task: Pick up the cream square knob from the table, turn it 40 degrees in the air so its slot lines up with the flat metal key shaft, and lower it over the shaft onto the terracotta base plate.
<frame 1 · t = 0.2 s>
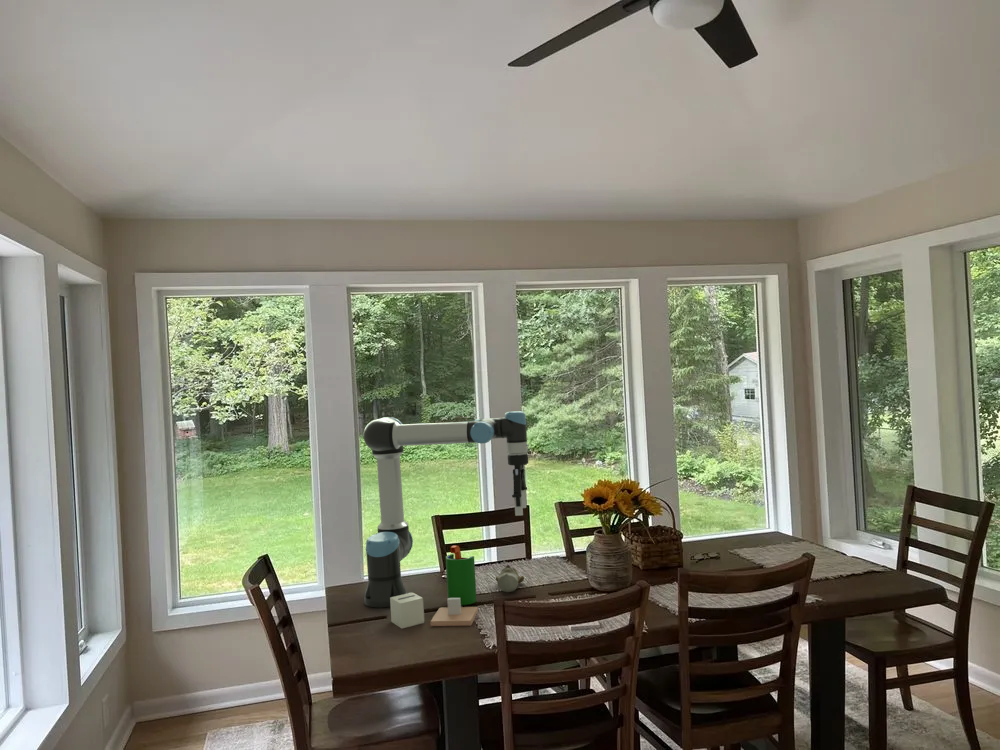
hand: (521, 511, 262), 28 cm above the table, fingers open, 13 cm apart
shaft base: (455, 618, 233), on the table
ceramic sculpture: (509, 588, 263), on the table
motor: (461, 602, 250), on the table
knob: (407, 622, 232), on the table
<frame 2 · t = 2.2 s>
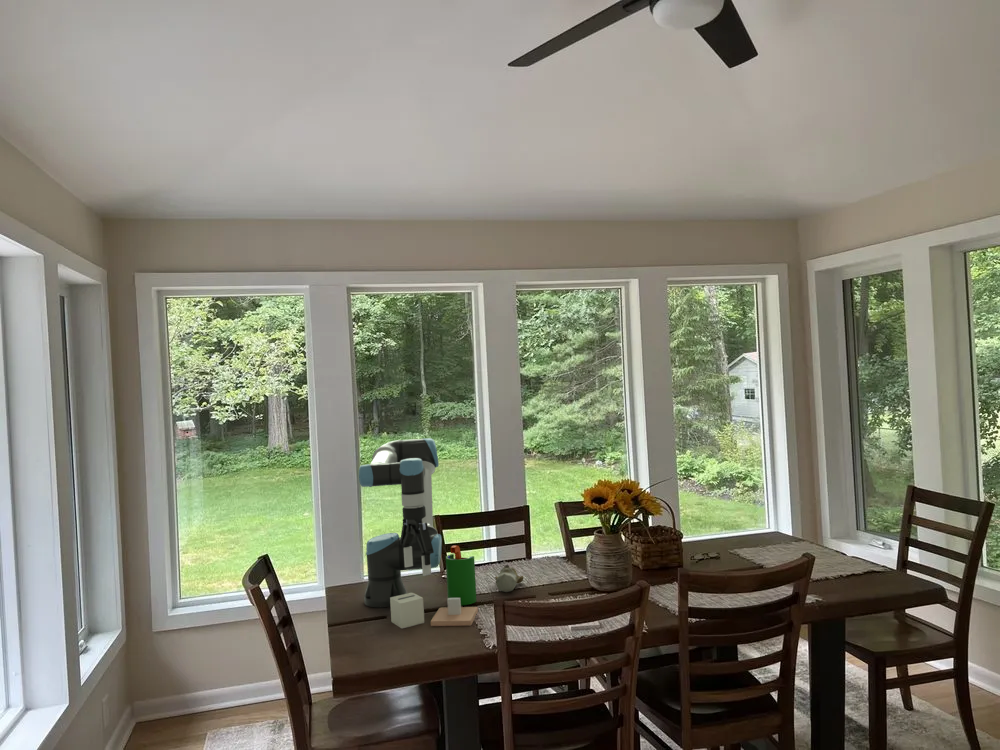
hand: (417, 570, 234), 16 cm above the table, fingers open, 13 cm apart
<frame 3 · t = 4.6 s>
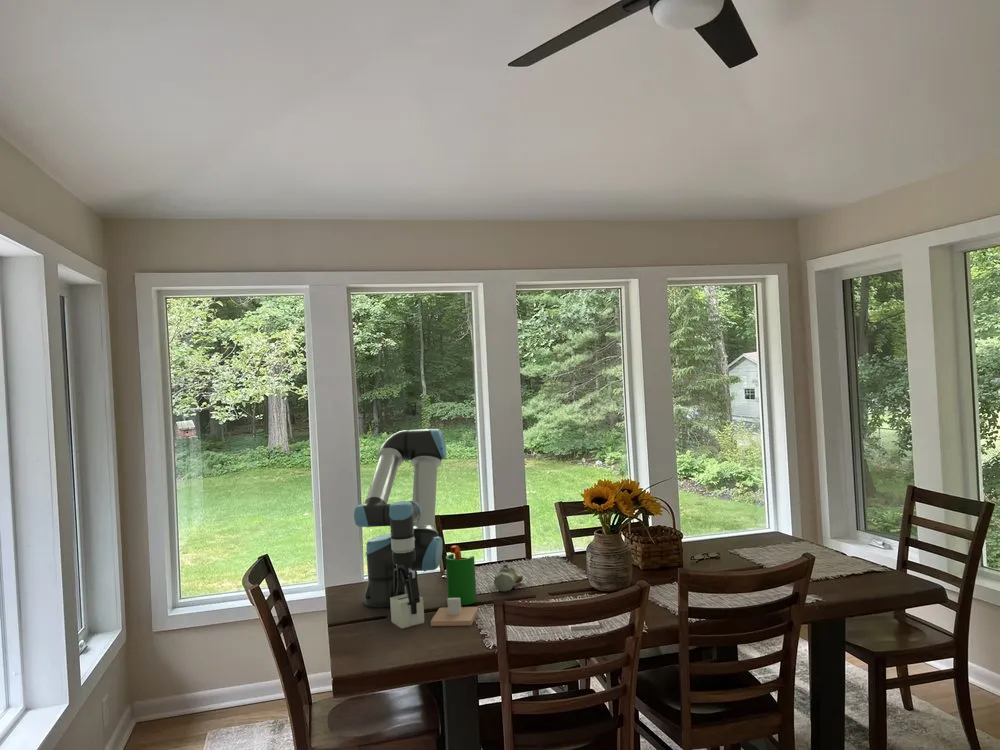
hand: (407, 620, 232), 1 cm above the table, fingers closed on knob, 8 cm apart
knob: (407, 622, 232), on the table, touching gripper
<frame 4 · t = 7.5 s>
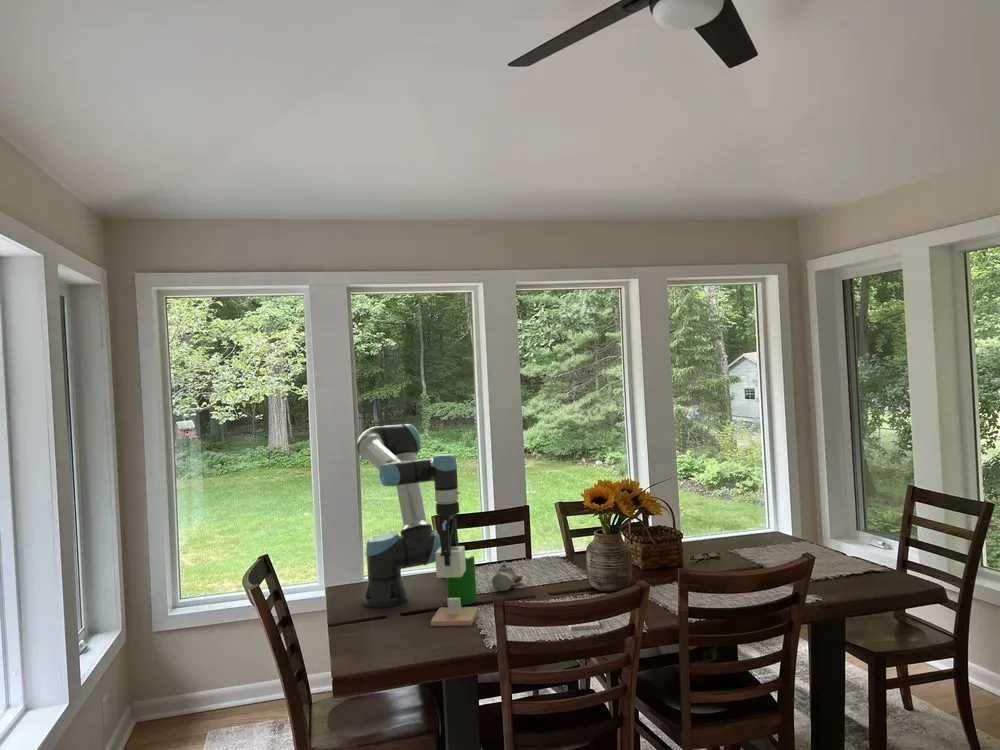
hand: (451, 571, 232), 15 cm above the table, fingers closed on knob, 8 cm apart
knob: (451, 573, 232), point 15 cm above the table, touching gripper
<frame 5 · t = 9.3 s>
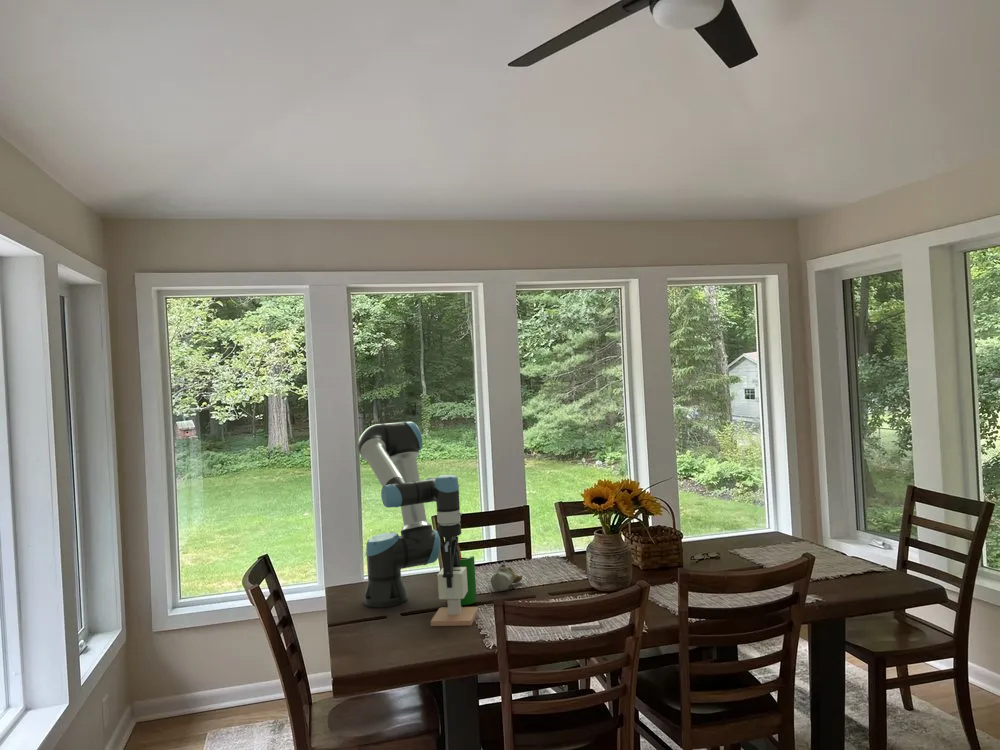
hand: (453, 592, 233), 8 cm above the table, fingers closed on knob, 8 cm apart
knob: (453, 595, 233), point 8 cm above the table, touching gripper
when the fingers open (4 cm above the table, at t = 10.6 s): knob drops 1 cm, resting on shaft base.
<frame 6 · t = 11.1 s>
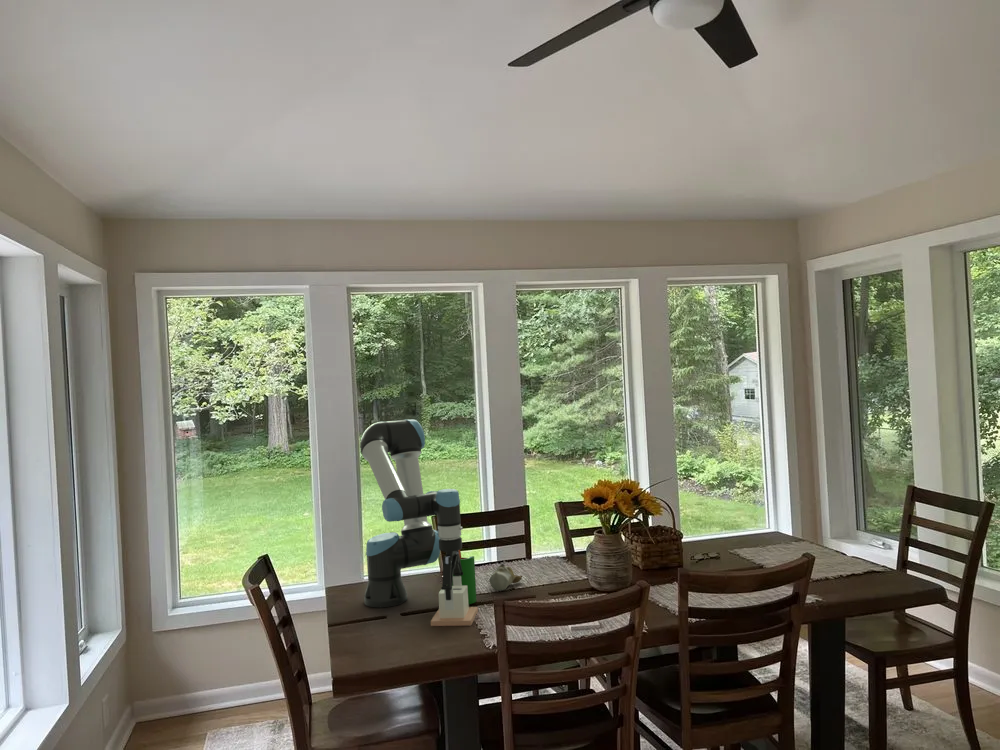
hand: (454, 602, 233), 5 cm above the table, fingers open, 13 cm apart
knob: (454, 613, 233), point 1 cm above the table, touching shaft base
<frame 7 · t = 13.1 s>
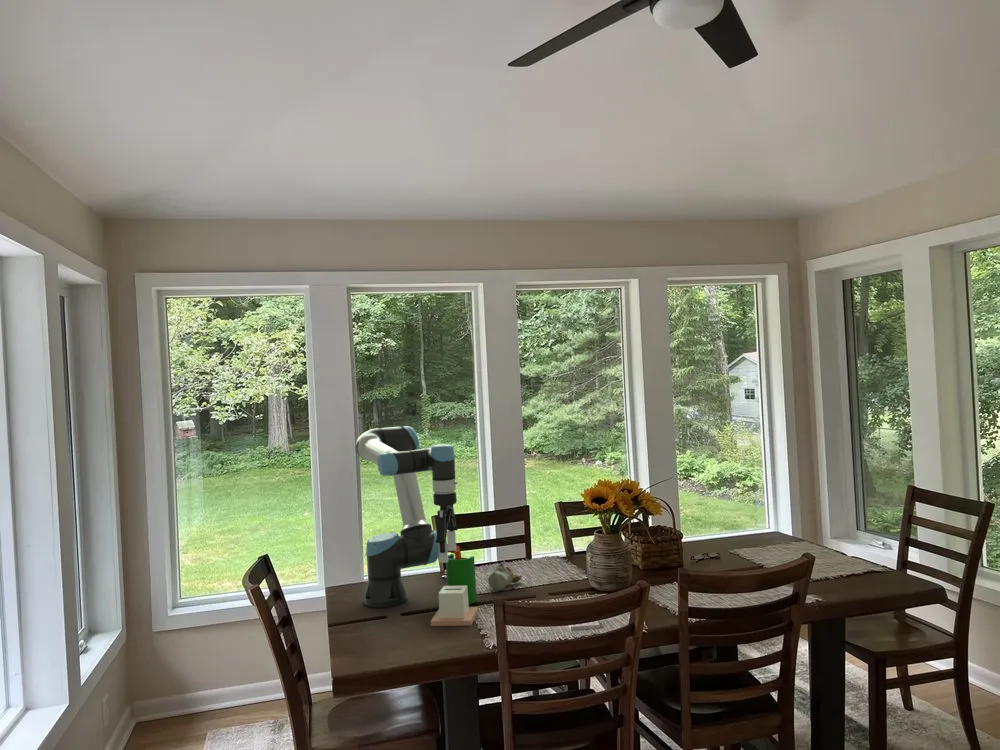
hand: (448, 556, 234), 20 cm above the table, fingers open, 13 cm apart
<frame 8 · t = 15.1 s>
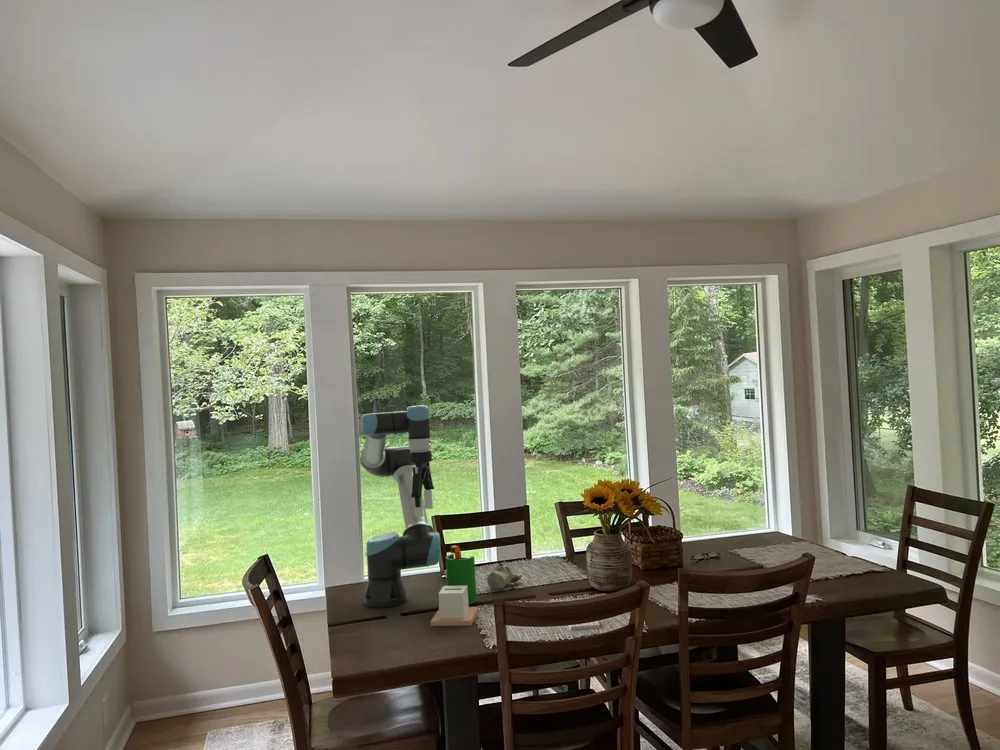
hand: (424, 512, 245), 33 cm above the table, fingers open, 13 cm apart
at the end: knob 0.1 cm off-centre on the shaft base, point 1.5 cm above the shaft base's base; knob tilted 0°; the gripper is holding nothing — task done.
